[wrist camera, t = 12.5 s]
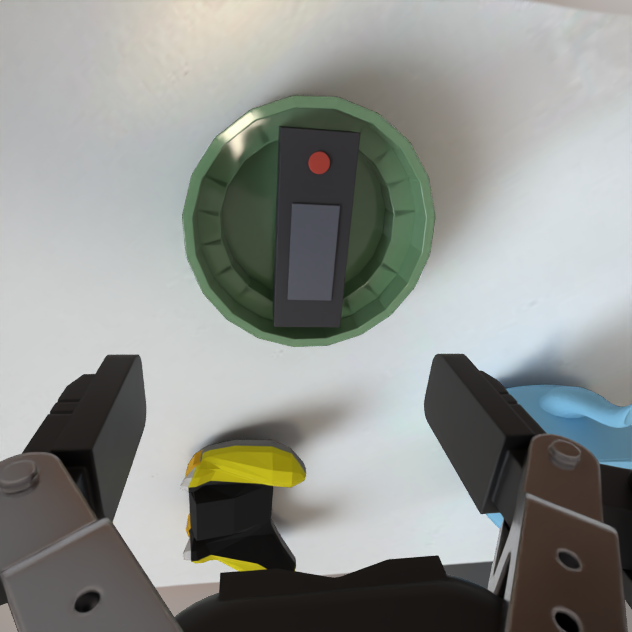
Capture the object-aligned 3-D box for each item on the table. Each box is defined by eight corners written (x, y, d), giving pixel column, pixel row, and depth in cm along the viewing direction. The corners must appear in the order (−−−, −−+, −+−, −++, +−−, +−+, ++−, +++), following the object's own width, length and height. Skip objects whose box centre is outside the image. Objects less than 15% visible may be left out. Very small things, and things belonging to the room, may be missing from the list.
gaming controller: (303, 420, 38) (185, 421, 37) (310, 466, 33) (174, 469, 32) (291, 539, 44) (190, 544, 43) (295, 593, 39) (181, 600, 38)
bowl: (145, 193, 29) (125, 207, 24) (334, 44, 27) (350, 30, 22) (281, 350, 35) (285, 385, 31) (444, 240, 33) (473, 260, 28)
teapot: (609, 325, 38) (741, 403, 28) (555, 480, 46) (643, 586, 35) (476, 329, 37) (562, 413, 26) (442, 488, 44) (500, 603, 34)
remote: (278, 125, 26) (281, 127, 23) (352, 131, 26) (361, 132, 24) (272, 312, 31) (274, 328, 28) (334, 312, 31) (340, 328, 29)
